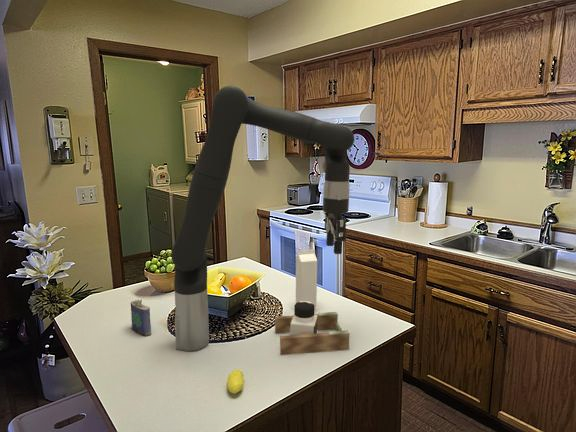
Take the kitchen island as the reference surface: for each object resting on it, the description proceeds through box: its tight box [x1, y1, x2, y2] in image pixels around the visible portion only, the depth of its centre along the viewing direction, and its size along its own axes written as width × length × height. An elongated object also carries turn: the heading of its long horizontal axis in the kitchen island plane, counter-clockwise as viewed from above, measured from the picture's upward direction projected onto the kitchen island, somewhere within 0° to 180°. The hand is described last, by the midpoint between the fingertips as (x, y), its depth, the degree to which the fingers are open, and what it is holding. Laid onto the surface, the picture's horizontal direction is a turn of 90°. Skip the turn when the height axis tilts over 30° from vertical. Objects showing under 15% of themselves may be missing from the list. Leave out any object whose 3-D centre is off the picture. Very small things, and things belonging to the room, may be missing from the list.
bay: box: [274, 311, 351, 356], centre depth 118 cm, size 20×14×5 cm
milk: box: [295, 248, 318, 312], centre depth 138 cm, size 6×6×22 cm
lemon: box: [226, 369, 245, 395], centre depth 95 cm, size 4×8×4 cm, turn 178°
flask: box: [130, 298, 152, 337], centre depth 122 cm, size 9×3×11 cm, turn 50°
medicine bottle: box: [289, 301, 318, 335], centre depth 117 cm, size 7×7×12 cm
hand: (333, 249), depth 117 cm, fingers open, 8 cm apart
